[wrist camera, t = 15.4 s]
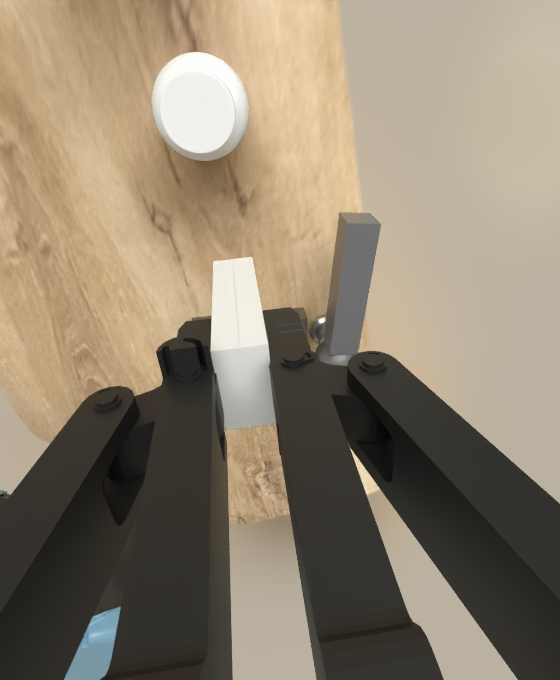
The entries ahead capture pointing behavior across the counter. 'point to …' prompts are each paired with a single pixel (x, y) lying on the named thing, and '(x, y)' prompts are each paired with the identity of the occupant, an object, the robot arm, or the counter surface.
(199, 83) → the supplement bottle
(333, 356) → the cable arm
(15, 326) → the counter surface
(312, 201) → the counter surface
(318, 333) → the pivot post
